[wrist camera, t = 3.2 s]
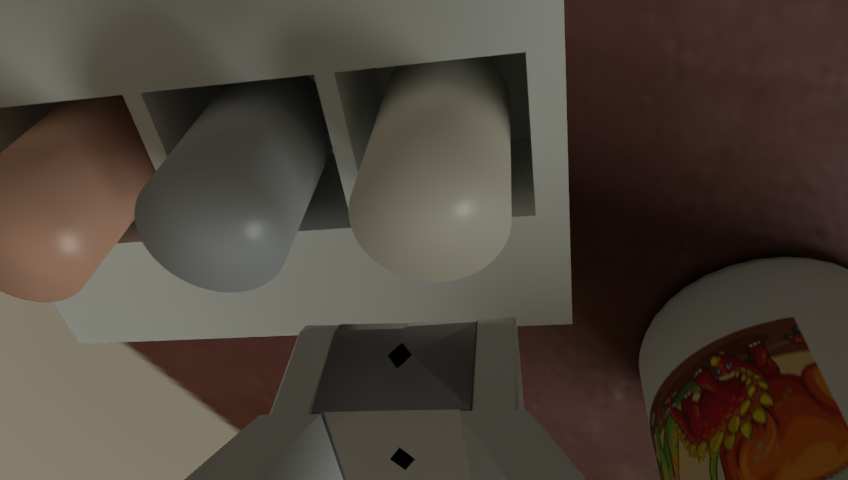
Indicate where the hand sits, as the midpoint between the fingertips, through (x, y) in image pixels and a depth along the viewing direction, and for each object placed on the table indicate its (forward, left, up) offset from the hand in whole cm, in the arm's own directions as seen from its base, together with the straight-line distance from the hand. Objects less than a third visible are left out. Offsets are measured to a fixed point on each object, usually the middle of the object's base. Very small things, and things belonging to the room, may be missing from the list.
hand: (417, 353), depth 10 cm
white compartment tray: (0, -4, -10) cm, 11 cm away
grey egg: (0, -4, -7) cm, 8 cm away
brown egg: (0, -8, -7) cm, 11 cm away
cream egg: (0, 0, -7) cm, 7 cm away
